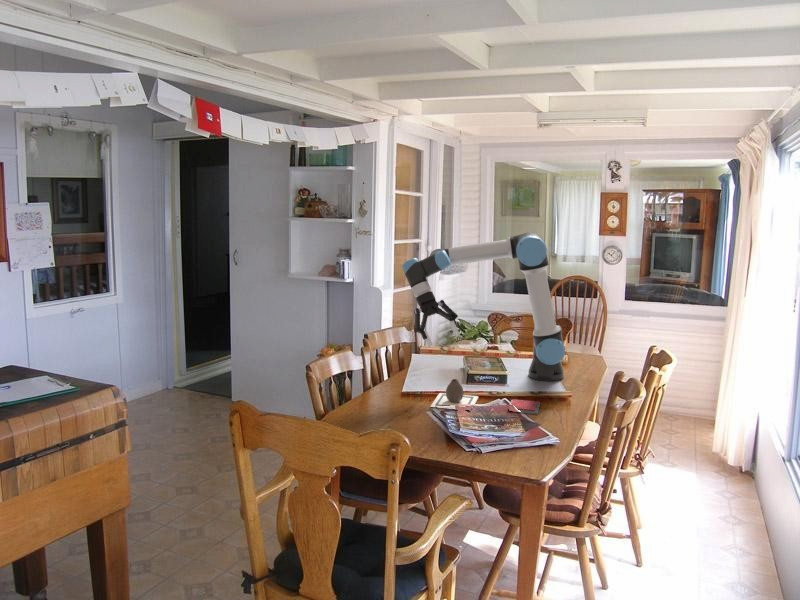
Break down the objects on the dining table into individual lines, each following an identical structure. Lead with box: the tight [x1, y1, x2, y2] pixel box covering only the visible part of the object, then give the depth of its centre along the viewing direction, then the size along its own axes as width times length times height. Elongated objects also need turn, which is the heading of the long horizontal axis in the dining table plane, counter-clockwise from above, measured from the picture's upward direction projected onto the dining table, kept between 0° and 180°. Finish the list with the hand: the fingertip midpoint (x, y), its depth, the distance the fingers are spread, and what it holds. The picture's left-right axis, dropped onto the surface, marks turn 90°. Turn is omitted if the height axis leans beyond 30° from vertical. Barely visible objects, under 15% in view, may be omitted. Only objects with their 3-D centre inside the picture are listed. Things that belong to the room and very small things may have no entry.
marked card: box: [429, 392, 479, 408], centre depth 270 cm, size 16×16×1 cm
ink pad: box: [510, 398, 541, 415], centre depth 264 cm, size 11×11×1 cm
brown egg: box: [445, 378, 464, 403], centre depth 270 cm, size 7×7×9 cm
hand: (444, 341), depth 281 cm, fingers open, 13 cm apart
